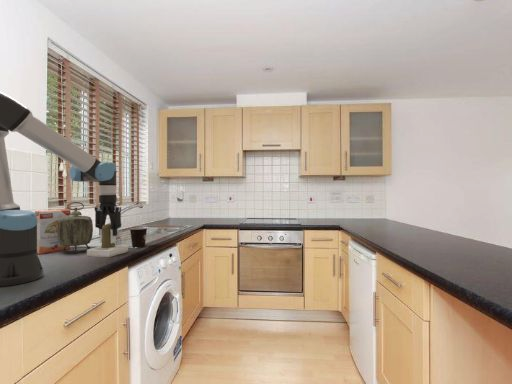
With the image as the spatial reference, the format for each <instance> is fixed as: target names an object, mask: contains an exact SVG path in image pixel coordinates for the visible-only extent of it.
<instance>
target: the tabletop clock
mask: <svg viewBox="0 0 512 384" xmlns="http://www.w3.org/2000/svg"><path fill="white" fill-rule="evenodd" d="M72 204H79V205H81V206H82V207H81V208H78V207H74V208H70V207H69V206H70V205H72ZM84 208H85V205H84V203H83V202H79V201H71V202H70V203H68V204H67V210H71V214H70V216H68V217H64V218H62V219H60V221H59V223H58V230H57V235H58V241H59V244H60V245H62V246H65V247H64V249H62V251H61V252H62V253H64V252H66V251H67V250H66V247H67V246H70V247H74V250H73V253H75V254H76V253H78V250H77V247H79V246H85V247H86V250H88V249H91V247H90V246H89V245H88V244H90V243H91V241H92V239H93V236H94V235H93V233H94V226H93V225H94V224H93V219H92V218H91V216H87V215H82V213H81V211H80V210H83V209H84Z"/></svg>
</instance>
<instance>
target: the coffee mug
mask: <svg viewBox="0 0 512 384" xmlns="http://www.w3.org/2000/svg"><path fill="white" fill-rule="evenodd" d="M129 230H130V238H131V239H130V241H131V247H132V248H133V249H136V248H135V247H141V248H144V247H143V246H145V247H146V243H147V242H146V240H147V234H148V233H147V232H148V228H147V227H139V226H138V227H131V228H129Z"/></svg>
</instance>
